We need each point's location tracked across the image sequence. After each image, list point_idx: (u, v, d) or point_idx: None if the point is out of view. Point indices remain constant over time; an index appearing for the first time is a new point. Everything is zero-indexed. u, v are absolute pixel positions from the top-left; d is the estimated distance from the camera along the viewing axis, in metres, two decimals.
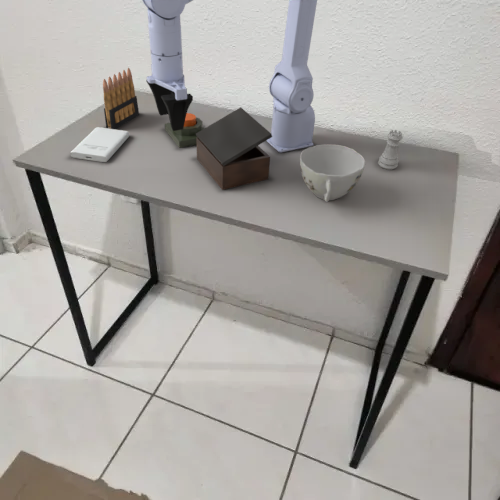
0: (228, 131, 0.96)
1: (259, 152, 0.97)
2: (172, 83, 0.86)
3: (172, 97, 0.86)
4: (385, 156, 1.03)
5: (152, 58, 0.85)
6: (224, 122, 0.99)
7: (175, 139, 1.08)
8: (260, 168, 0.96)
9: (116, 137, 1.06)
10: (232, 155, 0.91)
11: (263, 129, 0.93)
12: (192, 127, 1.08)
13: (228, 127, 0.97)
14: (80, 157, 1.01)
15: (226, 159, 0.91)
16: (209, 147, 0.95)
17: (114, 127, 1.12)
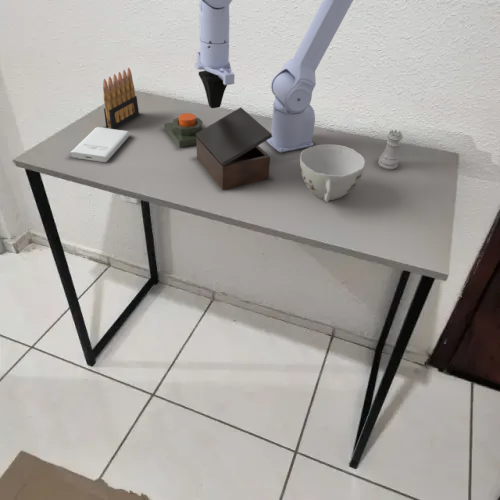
0: (228, 131, 0.96)
1: (259, 152, 0.97)
2: (219, 69, 0.92)
3: (212, 76, 0.94)
4: (385, 156, 1.03)
5: (201, 46, 0.91)
6: (224, 122, 0.99)
7: (175, 139, 1.08)
8: (260, 168, 0.96)
9: (116, 137, 1.06)
10: (232, 155, 0.91)
11: (263, 129, 0.93)
12: (192, 127, 1.08)
13: (228, 127, 0.97)
14: (80, 157, 1.01)
15: (226, 159, 0.91)
16: (209, 147, 0.95)
17: (114, 127, 1.12)
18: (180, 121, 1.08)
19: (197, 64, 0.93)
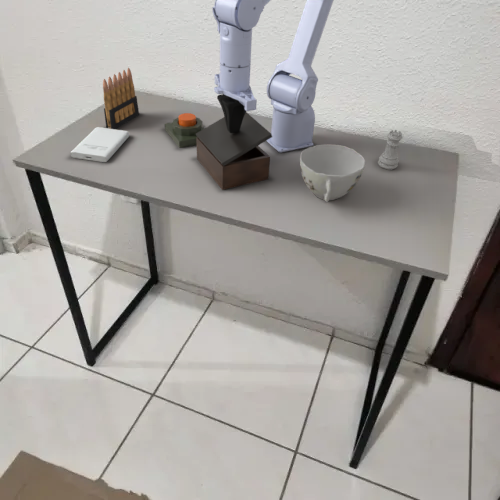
0: (228, 131, 0.96)
1: (259, 152, 0.97)
2: (240, 94, 0.87)
3: (232, 101, 0.89)
4: (385, 156, 1.03)
5: (222, 69, 0.86)
6: (224, 122, 0.99)
7: (175, 139, 1.08)
8: (260, 168, 0.96)
9: (116, 137, 1.06)
10: (232, 155, 0.91)
11: (263, 129, 0.93)
12: (192, 127, 1.08)
13: None
14: (80, 157, 1.01)
15: (226, 159, 0.91)
16: (209, 147, 0.95)
17: (114, 127, 1.12)
18: (180, 121, 1.08)
19: (216, 88, 0.88)
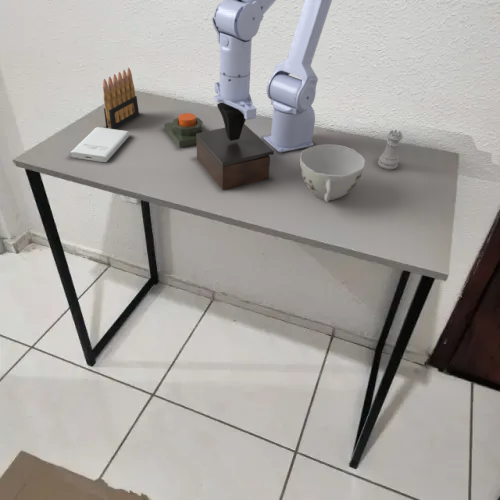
0: None
1: None
2: (240, 102, 0.89)
3: (232, 109, 0.90)
4: (385, 156, 1.03)
5: (222, 78, 0.87)
6: None
7: (175, 139, 1.08)
8: (260, 168, 0.96)
9: (116, 137, 1.06)
10: (234, 159, 0.92)
11: (266, 145, 0.96)
12: (192, 127, 1.08)
13: None
14: (80, 157, 1.01)
15: (227, 161, 0.91)
16: (210, 147, 0.95)
17: (114, 127, 1.12)
18: (180, 121, 1.08)
19: (216, 97, 0.89)
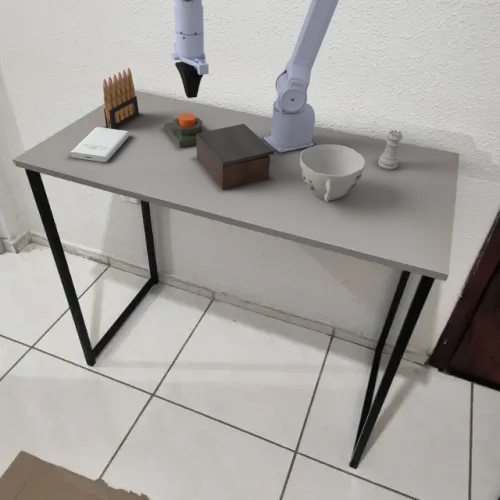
0: (231, 139, 0.98)
1: None
2: (194, 60, 0.96)
3: (188, 67, 0.98)
4: (385, 156, 1.03)
5: (177, 37, 0.94)
6: (226, 131, 1.01)
7: (175, 139, 1.08)
8: (260, 168, 0.96)
9: (116, 137, 1.06)
10: (234, 159, 0.92)
11: (266, 145, 0.96)
12: (192, 127, 1.08)
13: (230, 136, 0.99)
14: (80, 157, 1.01)
15: (227, 161, 0.91)
16: (210, 147, 0.95)
17: (114, 127, 1.12)
18: (180, 121, 1.08)
19: (173, 55, 0.97)
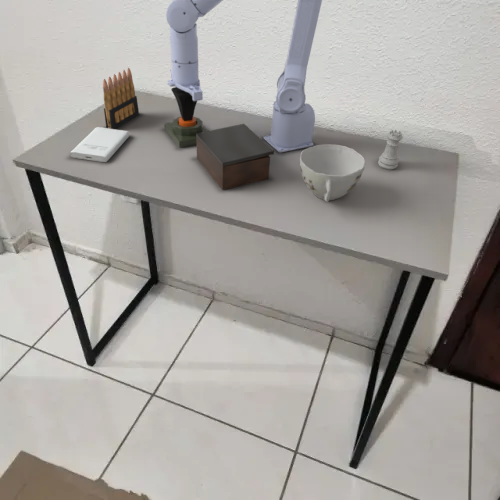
0: (231, 139, 0.98)
1: None
2: (189, 86, 1.01)
3: (184, 92, 1.03)
4: (385, 156, 1.03)
5: (173, 65, 1.00)
6: (226, 131, 1.01)
7: (175, 139, 1.08)
8: (260, 168, 0.96)
9: (116, 137, 1.06)
10: (234, 159, 0.92)
11: (266, 145, 0.96)
12: (192, 127, 1.08)
13: (230, 136, 0.99)
14: (80, 157, 1.01)
15: (227, 161, 0.91)
16: (210, 147, 0.95)
17: (114, 127, 1.12)
18: (180, 124, 1.09)
19: (169, 81, 1.02)
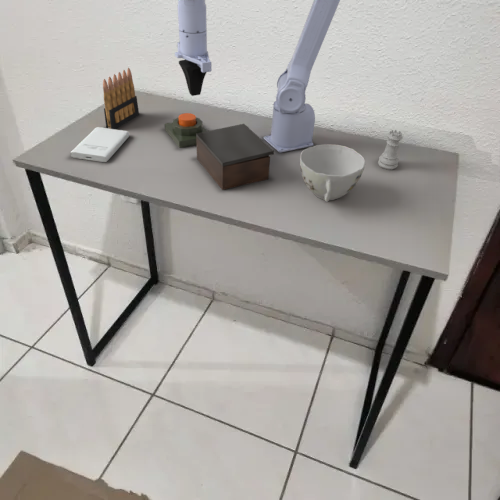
0: (231, 139, 0.98)
1: None
2: (198, 58, 0.97)
3: (191, 64, 0.99)
4: (385, 156, 1.03)
5: (180, 35, 0.96)
6: (226, 131, 1.01)
7: (175, 139, 1.08)
8: (260, 168, 0.96)
9: (116, 137, 1.06)
10: (234, 159, 0.92)
11: (266, 145, 0.96)
12: (192, 127, 1.08)
13: (230, 136, 0.99)
14: (80, 157, 1.01)
15: (227, 161, 0.91)
16: (210, 147, 0.95)
17: (114, 127, 1.12)
18: (180, 121, 1.08)
19: (177, 53, 0.98)
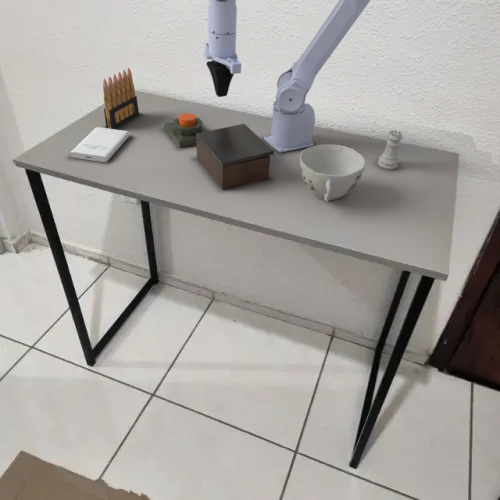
0: (231, 139, 0.98)
1: None
2: (227, 59, 0.97)
3: (220, 66, 0.99)
4: (385, 156, 1.03)
5: (210, 36, 0.96)
6: (226, 131, 1.01)
7: (175, 139, 1.08)
8: (260, 168, 0.96)
9: (116, 137, 1.06)
10: (234, 159, 0.92)
11: (266, 145, 0.96)
12: (192, 127, 1.08)
13: (230, 136, 0.99)
14: (80, 157, 1.01)
15: (227, 161, 0.91)
16: (210, 147, 0.95)
17: (114, 127, 1.12)
18: (180, 121, 1.08)
19: (205, 54, 0.98)
